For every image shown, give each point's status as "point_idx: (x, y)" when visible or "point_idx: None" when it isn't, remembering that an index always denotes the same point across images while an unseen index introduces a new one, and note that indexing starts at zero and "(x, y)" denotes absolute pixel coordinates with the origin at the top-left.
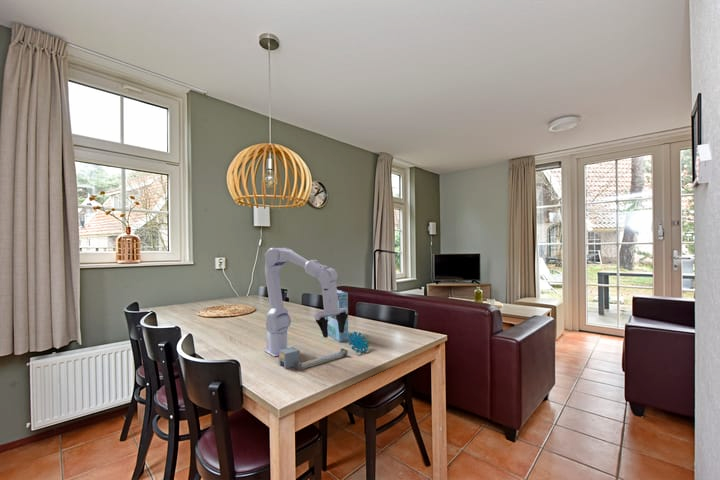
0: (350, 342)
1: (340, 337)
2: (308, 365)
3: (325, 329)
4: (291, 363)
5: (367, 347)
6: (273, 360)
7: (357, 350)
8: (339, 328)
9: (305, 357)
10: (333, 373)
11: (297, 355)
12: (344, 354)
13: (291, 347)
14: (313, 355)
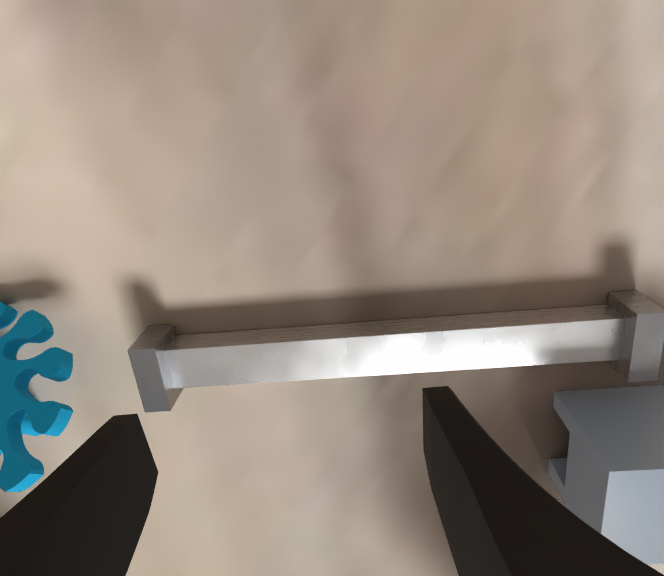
0: (45, 417)
1: None
2: (542, 315)
3: (518, 470)
4: (643, 402)
5: None
6: None
7: (33, 326)
8: (133, 514)
9: None
10: (449, 67)
11: (611, 440)
12: (169, 341)
13: None
14: (371, 478)
